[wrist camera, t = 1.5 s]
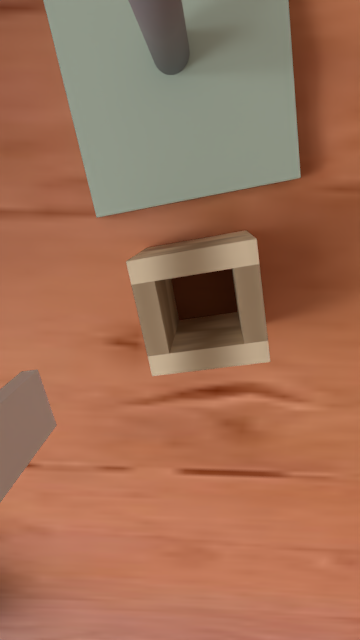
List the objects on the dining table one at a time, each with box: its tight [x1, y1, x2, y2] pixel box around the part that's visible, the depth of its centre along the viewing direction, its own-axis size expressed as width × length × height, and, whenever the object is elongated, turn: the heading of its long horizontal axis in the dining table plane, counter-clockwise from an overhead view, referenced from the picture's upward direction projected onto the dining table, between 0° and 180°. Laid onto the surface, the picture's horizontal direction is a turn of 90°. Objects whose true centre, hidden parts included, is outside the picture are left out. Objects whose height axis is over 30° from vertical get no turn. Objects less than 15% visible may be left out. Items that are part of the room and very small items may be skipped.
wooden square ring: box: [126, 230, 270, 376], centre depth 25 cm, size 8×8×7 cm
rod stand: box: [43, 0, 301, 217], centre depth 17 cm, size 15×18×14 cm
